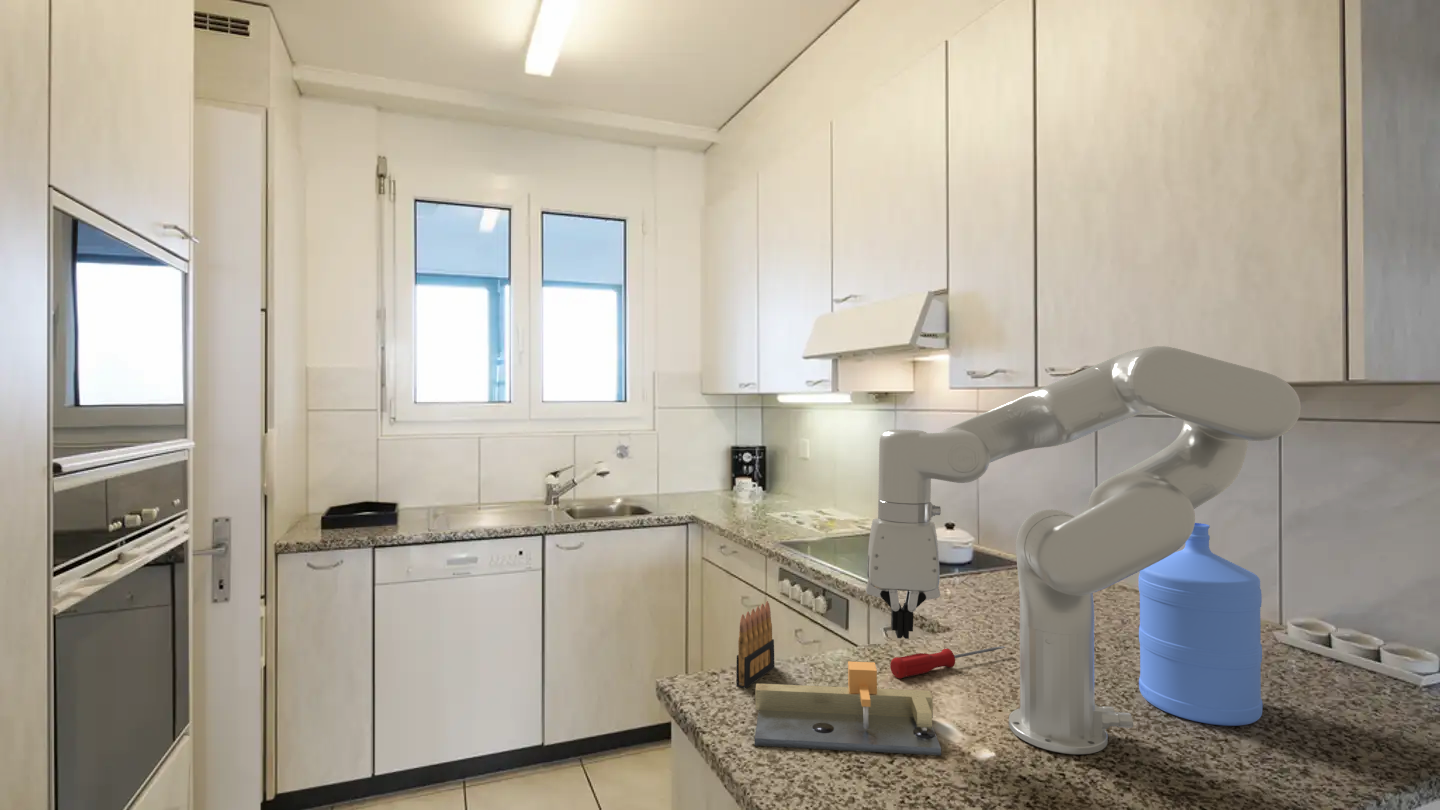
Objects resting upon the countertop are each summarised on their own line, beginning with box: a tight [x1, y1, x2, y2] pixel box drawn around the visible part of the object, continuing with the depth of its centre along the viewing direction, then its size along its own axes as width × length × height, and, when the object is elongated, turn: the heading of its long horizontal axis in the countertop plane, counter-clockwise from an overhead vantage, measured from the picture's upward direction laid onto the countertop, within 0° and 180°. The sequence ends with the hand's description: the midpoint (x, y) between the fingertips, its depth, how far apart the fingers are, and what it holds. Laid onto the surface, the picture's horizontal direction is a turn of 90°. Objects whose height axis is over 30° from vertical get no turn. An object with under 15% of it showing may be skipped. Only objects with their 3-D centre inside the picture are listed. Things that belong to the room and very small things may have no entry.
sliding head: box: [847, 660, 878, 729], centre depth 100 cm, size 4×8×6 cm, turn 173°
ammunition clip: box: [735, 600, 775, 689], centre depth 119 cm, size 11×2×12 cm, turn 148°
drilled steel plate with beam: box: [754, 683, 942, 756], centre depth 100 cm, size 26×14×4 cm, turn 83°
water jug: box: [1138, 522, 1264, 727], centre depth 106 cm, size 16×16×28 cm
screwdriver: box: [889, 645, 1006, 680], centre depth 122 cm, size 4×25×4 cm, turn 113°
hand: (901, 635), depth 102 cm, fingers closed
